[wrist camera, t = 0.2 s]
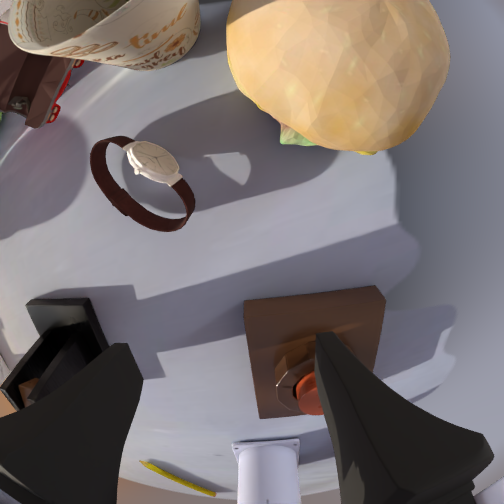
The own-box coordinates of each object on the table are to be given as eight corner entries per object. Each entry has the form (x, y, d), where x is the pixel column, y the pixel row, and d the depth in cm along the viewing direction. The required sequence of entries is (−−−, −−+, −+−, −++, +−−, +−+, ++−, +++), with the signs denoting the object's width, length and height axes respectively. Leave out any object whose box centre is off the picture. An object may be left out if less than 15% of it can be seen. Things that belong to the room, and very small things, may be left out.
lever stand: (127, 382, 24) (95, 459, 15) (70, 374, 25) (33, 437, 15) (89, 297, 21) (26, 374, 12) (31, 299, 21) (-27, 357, 12)
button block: (358, 388, 24) (369, 418, 21) (259, 401, 25) (259, 434, 21) (375, 285, 20) (396, 313, 16) (244, 300, 20) (242, 333, 17)
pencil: (216, 496, 35) (212, 497, 35) (216, 492, 36) (212, 493, 36) (140, 462, 30) (136, 463, 30) (141, 457, 31) (137, 458, 31)
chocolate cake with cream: (214, 187, 18) (205, 198, 14) (172, 241, 19) (156, 262, 15) (126, 118, 16) (100, 115, 12) (91, 174, 17) (62, 183, 14)
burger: (428, 32, 13) (493, 1, 5) (375, 190, 17) (450, 216, 10) (275, -43, 11) (288, -111, 4) (192, 112, 15) (149, 79, 8)
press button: (340, 394, 20) (344, 411, 18) (295, 401, 20) (298, 418, 18) (344, 364, 18) (351, 381, 17) (295, 371, 18) (298, 389, 17)
